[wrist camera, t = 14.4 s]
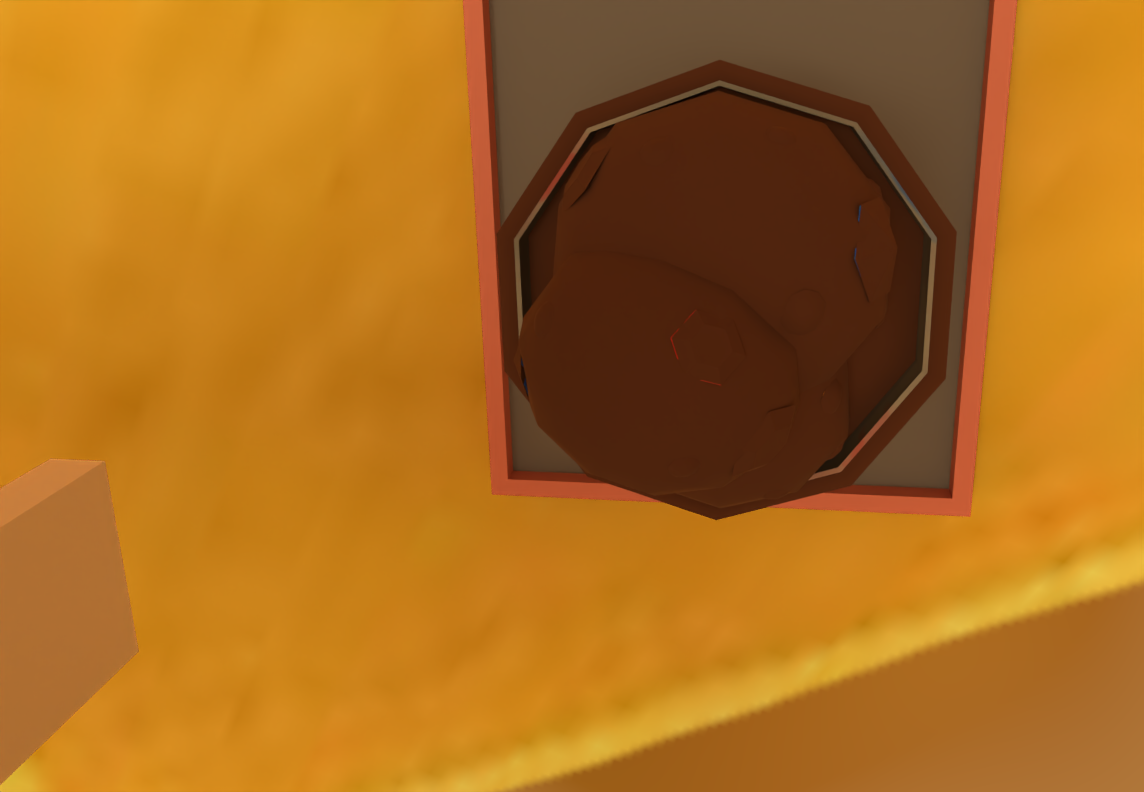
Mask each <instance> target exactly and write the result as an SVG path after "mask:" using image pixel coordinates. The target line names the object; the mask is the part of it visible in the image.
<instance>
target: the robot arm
mask: <svg viewBox="0 0 1144 792" xmlns="http://www.w3.org/2000/svg"><path fill="white" fill-rule="evenodd" d="M137 652H138V645H137V639H136V634H135V628H134V623H133V617H132V611H131V606H130V600H129V594H128V589H127V583H126V577H125V572H124V566H123V561H122V555H121V549H120V544H119V538H118V532H117V527H116V521H115V516H114V510H113V504H112V499H111V493H110V487H109V482H108V476H107V470H106V465H105V461H94V460H71V459H49V460H48V461H46V462H44V463H42V464H41V465H39V466H37V467H36V468H34V469H32V470H30V471H29V472H27V473H25V474H24V475H22V476H20V477H19V478H17V479H15V480H13V481H12V482H10V483H8V484H7V485H5V486H3V487H2V488H0V785H1V784H2V783H3V782H4V781H5V780H6V779H7V778H8V777H9V776H10V775H11V774H12V773H13V772H14V771H15V770H16V769H17V768H18V767H19V766H20V765H21V764H22V763H24V762H25V761H26V760H27V759H28V758H29V757H30V756H31V755H32V754H33V753H34V752H35V751H36V750H37V749H38V748H39V747H40V746H41V745H42V744H43V743H44V742H45V741H46V740H47V739H48V738H49V737H50V736H51V735H52V734H54V733H55V732H56V731H57V730H58V729H59V728H60V727H61V726H62V725H63V724H64V723H65V722H66V721H67V720H68V719H69V718H70V717H71V716H72V715H73V714H74V713H75V712H76V711H77V710H78V709H79V708H80V707H81V706H82V705H84V704H85V703H86V702H87V701H88V700H89V699H90V698H91V697H92V696H93V695H94V694H95V693H96V692H97V691H98V690H99V689H100V688H101V687H102V686H103V685H104V684H105V683H106V682H107V681H108V680H109V679H110V678H111V677H113V676H114V675H115V674H116V673H117V672H118V671H119V670H120V669H121V668H122V667H123V666H124V665H125V664H126V663H127V662H128V661H129V660H130V659H131V658H132V657H133V656H134V655H135V654H136V653H137Z"/></svg>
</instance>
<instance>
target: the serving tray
mask: <svg viewBox="0 0 1144 792" xmlns="http://www.w3.org/2000/svg"><path fill="white" fill-rule="evenodd" d="M463 8H464V25H465V42H466V59H467V76H468V93H469V110H470V128H471V145H472V162H473V179H474V196H475V213H476V230H477V247H478V264H479V281H480V298H481V315H482V332H483V349H484V366H485V383H486V400H487V417H488V434H489V451H490V468H491V486H492V494H493V495H515V496H537V497H558V498H580V499H602V500H623V501H645V502H661V501H658V500H655V499H652V498H649V497H646V496H643V495H640V494H637V493H634V492H632V491H629V490H626V489H623V488H620V487H617V486H614V485H611V484H608V483H605V482H602V481H599V480H596V479H593V478H590V477H587V476H586V474H585V473H584V472H583V471H582V469H581V468H580V467H579V465H578V464H577V463H576V462H575V461H574V460H573V459H572V458H571V457H569V456H568V455H567V454H566V453H565V452H564V451H563V450H562V449H561V448H560V447H559V446H558V445H557V444H556V443H555V442H554V441H553V440H552V439H551V438H550V437H549V436H548V435H547V434H546V433H545V432H544V431H543V430H542V429H541V428H540V427H539V426H538V425H537V422H536V420H535V417H534V414H533V412H532V409H531V407H530V403H529V402H528V400H527V399H526V398H525V397H524V395H523V394H522V393H521V392H520V390H519V389H518V388H517V386H516V385H515V384H514V383H513V381H512V380H511V379H510V378H509V376H508V375H507V374H506V372H505V371H504V359H503V341H502V323H501V305H500V287H499V269H498V251H497V232H498V231H499V229H500V228H501V226H502V225H503V223H504V222H505V220H506V219H507V217H508V216H509V214H510V212H511V211H512V209H513V208H514V206H515V205H516V203H517V202H518V200H519V199H520V197H521V196H522V194H523V192H524V191H525V189H526V188H527V186H528V185H529V183H530V182H531V180H532V179H533V177H534V176H535V174H536V173H537V171H538V169H539V168H540V166H541V165H542V163H543V162H544V160H545V159H546V157H547V156H548V154H549V153H550V151H551V150H552V148H553V146H554V145H555V143H556V142H557V140H558V139H559V137H560V136H561V134H562V133H563V131H564V130H565V128H566V127H567V125H568V123H569V122H570V120H571V119H572V117H573V116H574V114H575V113H576V112H579V111H581V110H584V109H587V108H590V107H592V106H595V105H598V104H600V103H603V102H606V101H609V100H611V99H614V98H617V97H619V96H622V95H625V94H628V93H630V92H633V91H636V90H638V89H641V88H644V87H647V86H649V85H652V84H655V83H658V82H660V81H663V80H666V79H668V78H671V77H674V76H677V75H679V74H682V73H685V72H687V71H690V70H693V69H696V68H698V67H701V66H704V65H706V64H709V63H712V62H715V61H717V60H722V61H726V62H729V63H732V64H736V65H739V66H742V67H745V68H749V69H752V70H755V71H758V72H762V73H765V74H768V75H771V76H775V77H778V78H781V79H785V80H788V81H791V82H794V83H798V84H801V85H804V86H807V87H811V88H814V89H817V90H820V91H824V92H827V93H830V94H834V95H837V96H840V97H843V98H847V99H850V100H853V101H856V102H860V103H863V104H866V105H869V106H870V107H871V108H872V109H873V111H874V112H875V114H876V115H877V117H878V118H879V120H880V121H881V122H882V124H883V125H884V127H885V128H886V130H887V131H888V133H889V134H890V136H891V137H892V138H893V140H894V141H895V143H896V144H897V146H898V147H899V149H900V150H901V152H902V153H903V154H904V156H905V157H906V159H907V160H908V162H909V163H910V165H911V166H912V167H913V169H914V170H915V172H916V173H917V175H918V176H919V178H920V179H921V181H922V182H923V183H924V185H925V186H926V188H927V189H928V191H929V192H930V194H931V195H932V197H933V198H934V199H935V201H936V202H937V204H938V205H939V207H940V208H941V210H942V211H943V212H944V214H945V215H946V217H947V218H948V220H949V221H950V223H951V224H952V226H953V227H954V228H955V230H956V231H957V237H956V250H955V263H954V277H953V290H952V303H951V316H950V329H949V343H948V356H947V369H946V379H945V380H944V381H943V382H942V384H941V385H940V386H939V387H938V388H937V389H936V390H935V391H934V393H933V394H932V395H931V396H930V397H929V398H928V399H927V401H926V402H925V403H924V404H923V405H922V406H921V407H920V408H919V410H918V411H917V412H916V413H915V414H914V415H913V416H912V418H911V419H910V420H909V421H908V422H907V423H906V424H905V425H904V427H903V428H902V429H901V430H900V431H899V432H898V433H897V435H896V436H895V437H894V438H893V439H892V440H891V441H890V442H889V444H888V445H887V446H886V447H885V448H884V449H883V450H882V452H881V453H880V454H879V455H878V456H877V457H876V458H875V459H874V461H873V462H872V463H871V464H870V465H869V466H868V467H867V469H866V470H865V471H864V472H863V473H862V474H861V475H860V476H859V478H858V479H857V480H856V481H855V482H854V483H853V484H852V485H851V486H849V487H845V488H841V489H837V490H833V491H829V492H825V493H821V494H817V495H813V496H809V497H805V498H801V499H797V500H793V501H789V502H785V503H781V504H777V505H773V506H770V507H775V508H797V509H819V510H840V511H862V512H884V513H905V514H927V515H949V516H970V514H971V503H972V492H973V481H974V470H975V459H976V448H977V437H978V426H979V415H980V404H981V393H982V382H983V371H984V360H985V349H986V338H987V327H988V316H989V305H990V294H991V283H992V272H993V261H994V250H995V239H996V228H997V217H998V206H999V195H1000V184H1001V173H1002V162H1003V151H1004V140H1005V129H1006V118H1007V107H1008V96H1009V85H1010V74H1011V63H1012V52H1013V41H1014V30H1015V19H1016V8H1017V0H463Z"/></svg>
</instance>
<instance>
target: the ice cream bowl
mask: <svg viewBox="0 0 1144 792" xmlns="http://www.w3.org/2000/svg"><path fill="white" fill-rule="evenodd" d="M956 237H957V231H956V230H955V228H954V227H953V226H952V224H951V223H950V221H949V220H948V218H947V217H946V215H945V214H944V212H943V211H942V210H941V208H940V207H939V205H938V204H937V202H936V201H935V199H934V198H933V197H932V195H931V194H930V192H929V191H928V189H927V188H926V186H925V185H924V183H923V182H922V181H921V179H920V178H919V176H918V175H917V173H916V172H915V170H914V169H913V167H912V166H911V165H910V163H909V162H908V160H907V159H906V157H905V156H904V154H903V153H902V152H901V150H900V149H899V147H898V146H897V144H896V143H895V141H894V140H893V138H892V137H891V136H890V134H889V133H888V131H887V130H886V128H885V127H884V125H883V124H882V122H881V121H880V120H879V118H878V117H877V115H876V114H875V112H874V111H873V109H872V108H871V107H870V106H869V105H866V104H863V103H860V102H856V101H853V100H850V99H847V98H843V97H840V96H837V95H834V94H830V93H827V92H824V91H820V90H817V89H814V88H811V87H807V86H804V85H801V84H798V83H794V82H791V81H788V80H785V79H781V78H778V77H775V76H771V75H768V74H765V73H762V72H758V71H755V70H752V69H749V68H745V67H742V66H739V65H736V64H732V63H729V62H726V61H722V60H717V61H715V62H712V63H709V64H706V65H704V66H701V67H698V68H696V69H693V70H690V71H687V72H685V73H682V74H679V75H677V76H674V77H671V78H668V79H666V80H663V81H660V82H658V83H655V84H652V85H649V86H647V87H644V88H641V89H638V90H636V91H633V92H630V93H628V94H625V95H622V96H619V97H617V98H614V99H611V100H609V101H606V102H603V103H600V104H598V105H595V106H592V107H590V108H587V109H584V110H581V111H579V112H576V113H575V114H574V116H573V117H572V119H571V120H570V122H569V123H568V125H567V127H566V128H565V130H564V131H563V133H562V134H561V136H560V137H559V139H558V140H557V142H556V143H555V145H554V146H553V148H552V150H551V151H550V153H549V154H548V156H547V157H546V159H545V160H544V162H543V163H542V165H541V166H540V168H539V169H538V171H537V173H536V174H535V176H534V177H533V179H532V180H531V182H530V183H529V185H528V186H527V188H526V189H525V191H524V192H523V194H522V196H521V197H520V199H519V200H518V202H517V203H516V205H515V206H514V208H513V209H512V211H511V212H510V214H509V216H508V217H507V219H506V220H505V222H504V223H503V225H502V226H501V228H500V229H499V231H498V232H497V251H498V269H499V287H500V305H501V323H502V341H503V359H504V371H505V372H506V374H507V375H508V376H509V378H510V379H511V380H512V381H513V383H514V384H515V385H516V386H517V388H518V389H519V390H520V392H521V393H522V394H523V395H524V397H525V398H526V399H527V400H528V402H529V403H530V407H531V409H532V412H533V414H534V417H535V420H536V422H537V425H538V426H539V427H540V428H541V429H542V430H543V431H544V432H545V433H546V434H547V435H548V436H549V437H550V438H551V439H552V440H553V441H554V442H555V443H556V444H557V445H558V446H559V447H560V448H561V449H562V450H563V451H564V452H565V453H566V454H567V455H568V456H569V457H571V458H572V459H573V460H574V461H575V462H576V463H577V464H578V465H579V467H580V468H581V469H582V471H583V472H584V473H585V474H586V476H587V477H590V478H593V479H596V480H599V481H602V482H605V483H608V484H611V485H614V486H617V487H620V488H623V489H626V490H629V491H632V492H634V493H637V494H640V495H643V496H646V497H649V498H652V499H655V500H658V501H661V502H664V503H667V504H670V505H673V506H676V507H679V508H682V509H685V510H688V511H691V512H694V513H697V514H700V515H703V516H706V517H709V518H712V519H715V520H718V519H722V518H726V517H730V516H734V515H738V514H742V513H746V512H750V511H754V510H758V509H762V508H766V507H770V506H773V505H777V504H781V503H785V502H789V501H793V500H797V499H801V498H805V497H809V496H813V495H817V494H821V493H825V492H829V491H833V490H837V489H841V488H845V487H849V486H851V485H852V484H853V483H854V482H855V481H856V480H857V479H858V478H859V476H860V475H861V474H862V473H863V472H864V471H865V470H866V469H867V467H868V466H869V465H870V464H871V463H872V462H873V461H874V459H875V458H876V457H877V456H878V455H879V454H880V453H881V452H882V450H883V449H884V448H885V447H886V446H887V445H888V444H889V442H890V441H891V440H892V439H893V438H894V437H895V436H896V435H897V433H898V432H899V431H900V430H901V429H902V428H903V427H904V425H905V424H906V423H907V422H908V421H909V420H910V419H911V418H912V416H913V415H914V414H915V413H916V412H917V411H918V410H919V408H920V407H921V406H922V405H923V404H924V403H925V402H926V401H927V399H928V398H929V397H930V396H931V395H932V394H933V393H934V391H935V390H936V389H937V388H938V387H939V386H940V385H941V384H942V382H943V381H944V380H945V379H946V369H947V356H948V343H949V329H950V316H951V303H952V290H953V277H954V263H955V250H956Z"/></svg>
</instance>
